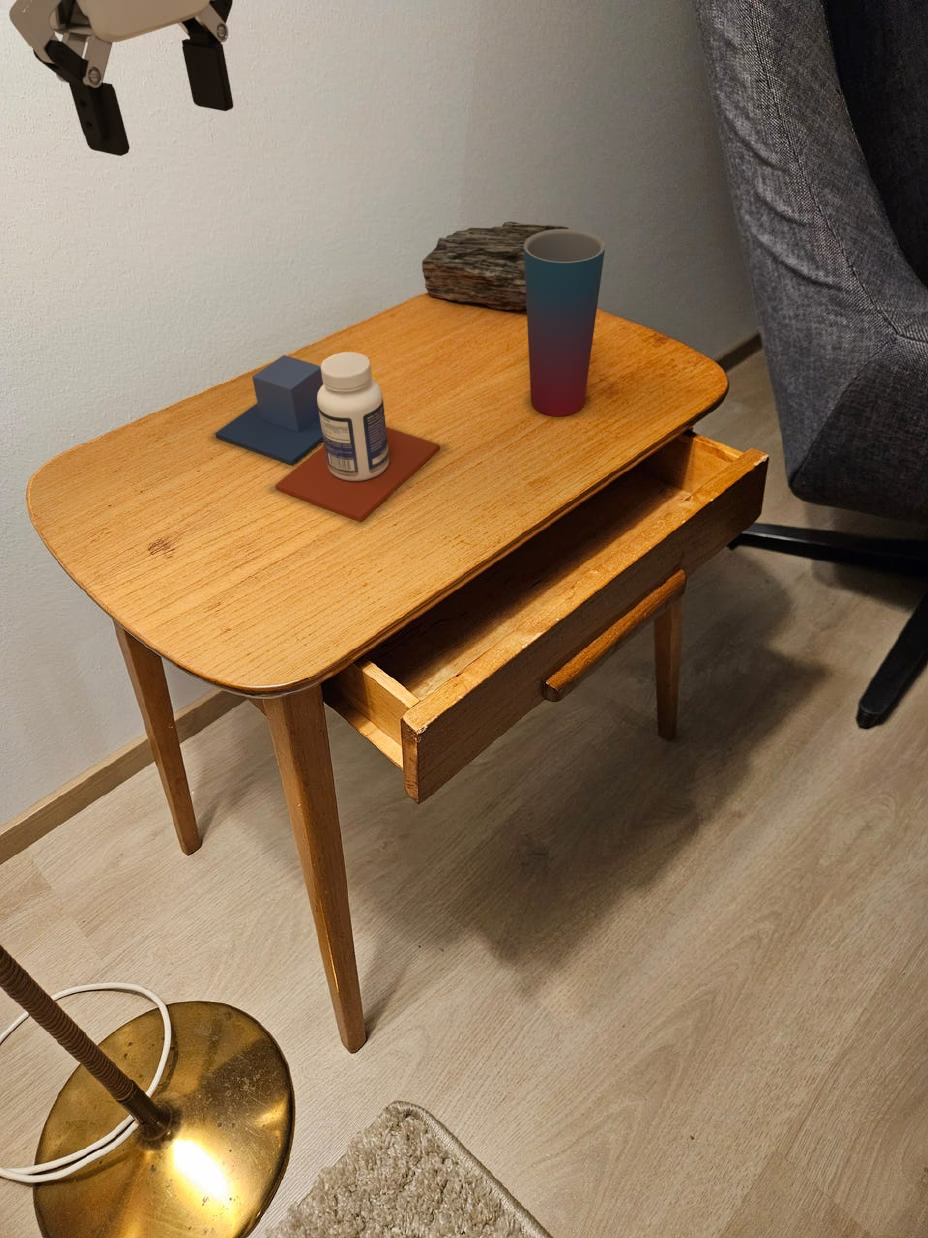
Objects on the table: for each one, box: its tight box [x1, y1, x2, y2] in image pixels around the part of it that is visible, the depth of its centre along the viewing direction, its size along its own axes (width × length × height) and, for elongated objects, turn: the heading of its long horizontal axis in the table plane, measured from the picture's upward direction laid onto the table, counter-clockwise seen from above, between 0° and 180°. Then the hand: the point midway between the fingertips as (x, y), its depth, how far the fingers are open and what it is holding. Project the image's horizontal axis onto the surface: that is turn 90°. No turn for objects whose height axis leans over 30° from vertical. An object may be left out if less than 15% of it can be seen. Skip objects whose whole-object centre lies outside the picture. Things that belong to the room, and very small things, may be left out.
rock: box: [421, 221, 570, 311], centre depth 105 cm, size 12×16×6 cm
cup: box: [524, 228, 606, 417], centre depth 86 cm, size 7×7×15 cm
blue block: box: [251, 354, 323, 433], centre depth 88 cm, size 4×4×4 cm
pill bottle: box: [317, 351, 389, 481], centre depth 80 cm, size 5×5×10 cm
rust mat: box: [274, 426, 441, 523], centre depth 84 cm, size 12×9×1 cm
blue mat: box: [214, 402, 324, 466], centre depth 90 cm, size 12×9×1 cm
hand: (164, 128), depth 64 cm, fingers open, 9 cm apart
